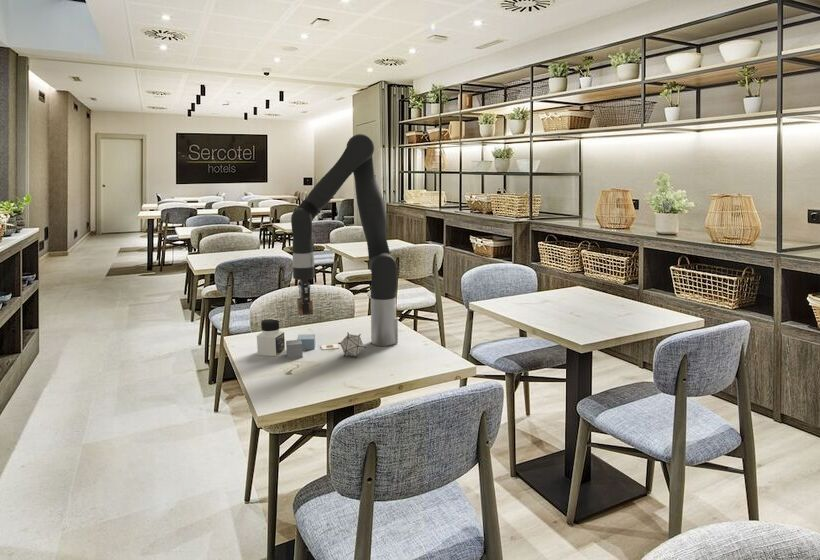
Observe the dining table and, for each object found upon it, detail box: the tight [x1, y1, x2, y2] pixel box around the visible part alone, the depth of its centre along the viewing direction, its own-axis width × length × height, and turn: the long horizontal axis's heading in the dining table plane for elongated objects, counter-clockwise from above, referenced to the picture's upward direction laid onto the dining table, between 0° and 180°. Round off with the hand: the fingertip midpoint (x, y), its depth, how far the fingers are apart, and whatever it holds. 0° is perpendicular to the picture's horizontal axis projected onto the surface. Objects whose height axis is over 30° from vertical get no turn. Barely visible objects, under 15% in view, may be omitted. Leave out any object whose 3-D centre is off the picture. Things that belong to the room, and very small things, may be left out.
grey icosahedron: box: [337, 332, 367, 359], centre depth 193 cm, size 9×8×10 cm
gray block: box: [285, 339, 304, 360], centre depth 194 cm, size 5×5×5 cm
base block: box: [296, 333, 316, 351], centre depth 204 cm, size 6×6×4 cm
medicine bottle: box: [256, 317, 286, 357], centre depth 197 cm, size 7×7×12 cm
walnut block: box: [296, 297, 314, 316], centre depth 201 cm, size 5×5×5 cm
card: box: [320, 343, 340, 351], centre depth 204 cm, size 6×4×1 cm
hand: (305, 311), depth 202 cm, fingers closed on walnut block, 5 cm apart
